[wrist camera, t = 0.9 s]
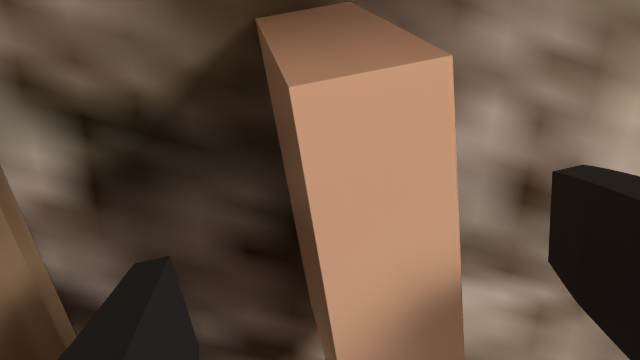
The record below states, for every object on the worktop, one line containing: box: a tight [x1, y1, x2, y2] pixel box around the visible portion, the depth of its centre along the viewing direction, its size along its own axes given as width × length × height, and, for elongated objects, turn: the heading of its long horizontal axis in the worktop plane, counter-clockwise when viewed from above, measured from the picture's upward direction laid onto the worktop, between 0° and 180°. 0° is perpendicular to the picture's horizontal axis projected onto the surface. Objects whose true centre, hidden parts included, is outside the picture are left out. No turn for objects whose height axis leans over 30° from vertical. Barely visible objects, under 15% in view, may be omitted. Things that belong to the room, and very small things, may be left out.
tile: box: [255, 1, 464, 360], centre depth 12 cm, size 8×2×6 cm, turn 9°
